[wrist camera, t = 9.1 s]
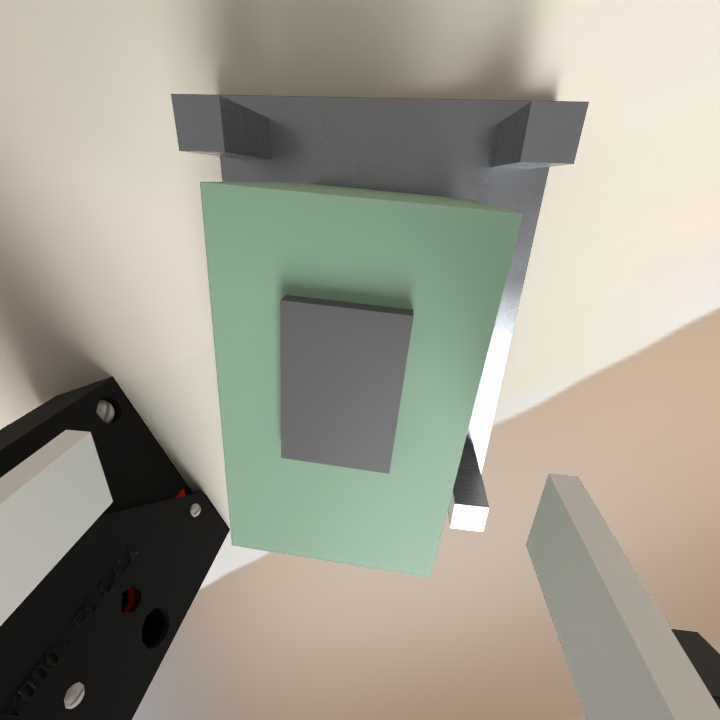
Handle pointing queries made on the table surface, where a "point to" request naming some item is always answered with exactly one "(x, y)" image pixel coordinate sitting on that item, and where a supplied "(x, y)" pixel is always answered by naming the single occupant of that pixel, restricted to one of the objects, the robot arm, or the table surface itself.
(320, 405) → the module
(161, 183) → the table surface
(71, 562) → the electrical component
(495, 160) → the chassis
